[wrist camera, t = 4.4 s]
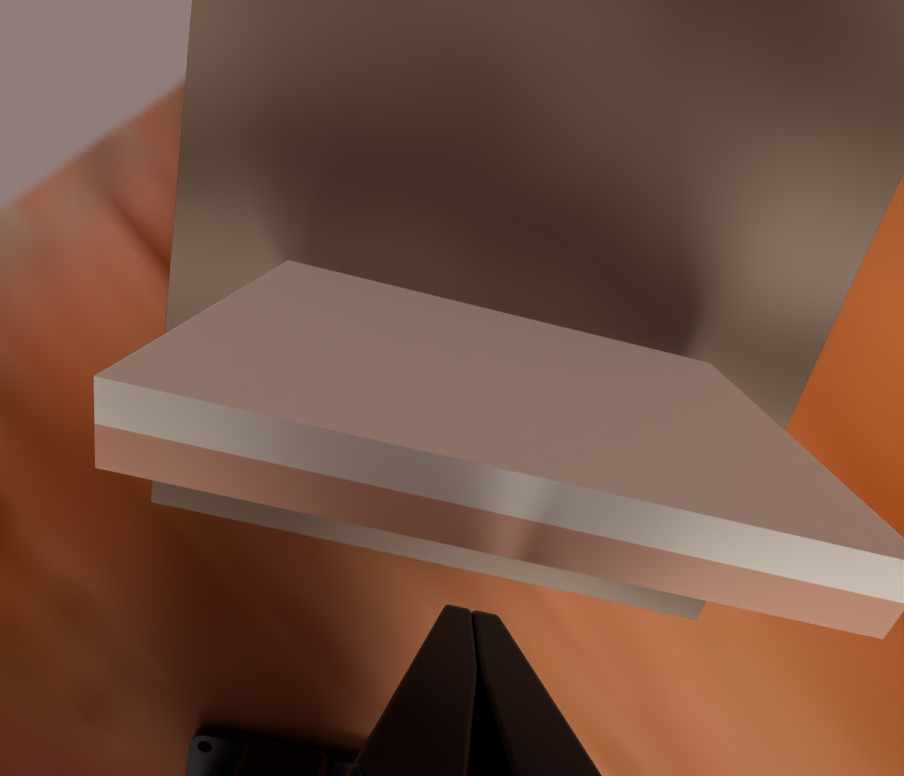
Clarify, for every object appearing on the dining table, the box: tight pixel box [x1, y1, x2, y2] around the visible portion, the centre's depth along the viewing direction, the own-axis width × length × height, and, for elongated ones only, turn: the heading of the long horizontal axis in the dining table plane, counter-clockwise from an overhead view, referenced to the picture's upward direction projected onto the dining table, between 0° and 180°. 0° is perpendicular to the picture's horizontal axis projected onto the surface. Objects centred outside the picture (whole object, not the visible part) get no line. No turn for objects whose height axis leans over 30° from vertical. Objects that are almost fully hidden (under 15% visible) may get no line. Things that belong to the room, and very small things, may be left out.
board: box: [151, 0, 904, 620], centre depth 14 cm, size 18×16×1 cm
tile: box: [94, 260, 904, 639], centre depth 10 cm, size 7×10×1 cm
